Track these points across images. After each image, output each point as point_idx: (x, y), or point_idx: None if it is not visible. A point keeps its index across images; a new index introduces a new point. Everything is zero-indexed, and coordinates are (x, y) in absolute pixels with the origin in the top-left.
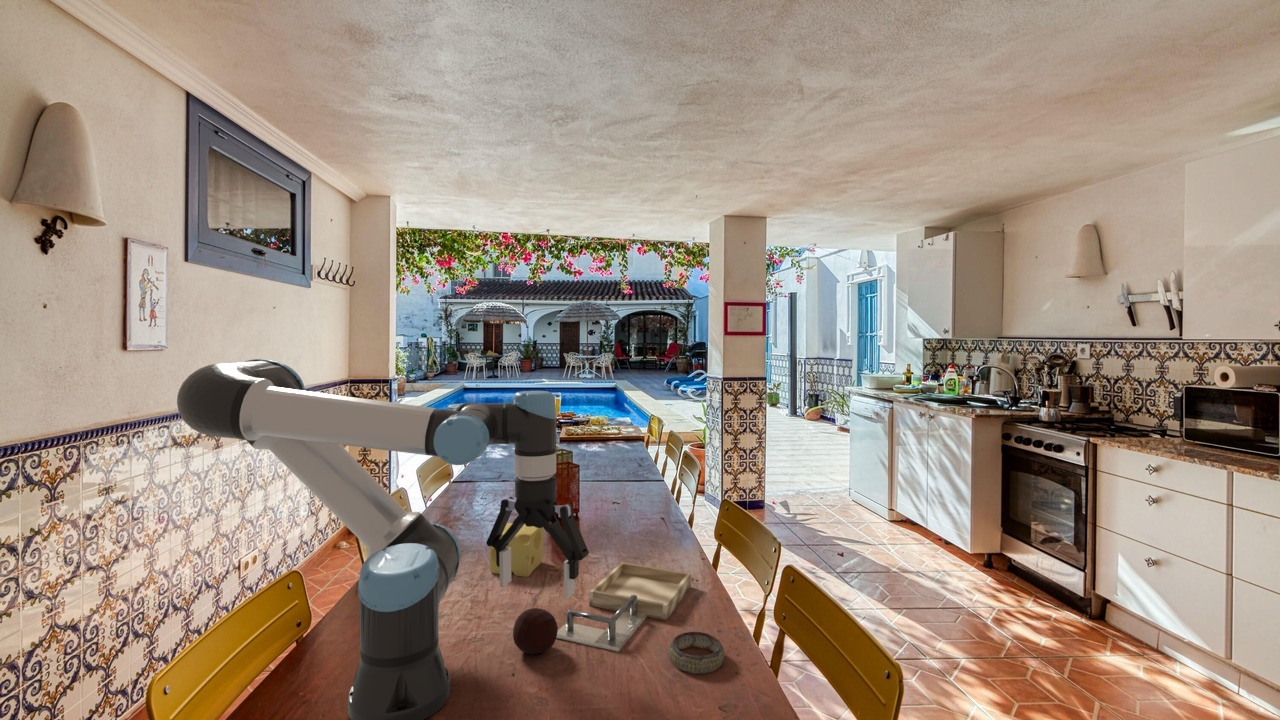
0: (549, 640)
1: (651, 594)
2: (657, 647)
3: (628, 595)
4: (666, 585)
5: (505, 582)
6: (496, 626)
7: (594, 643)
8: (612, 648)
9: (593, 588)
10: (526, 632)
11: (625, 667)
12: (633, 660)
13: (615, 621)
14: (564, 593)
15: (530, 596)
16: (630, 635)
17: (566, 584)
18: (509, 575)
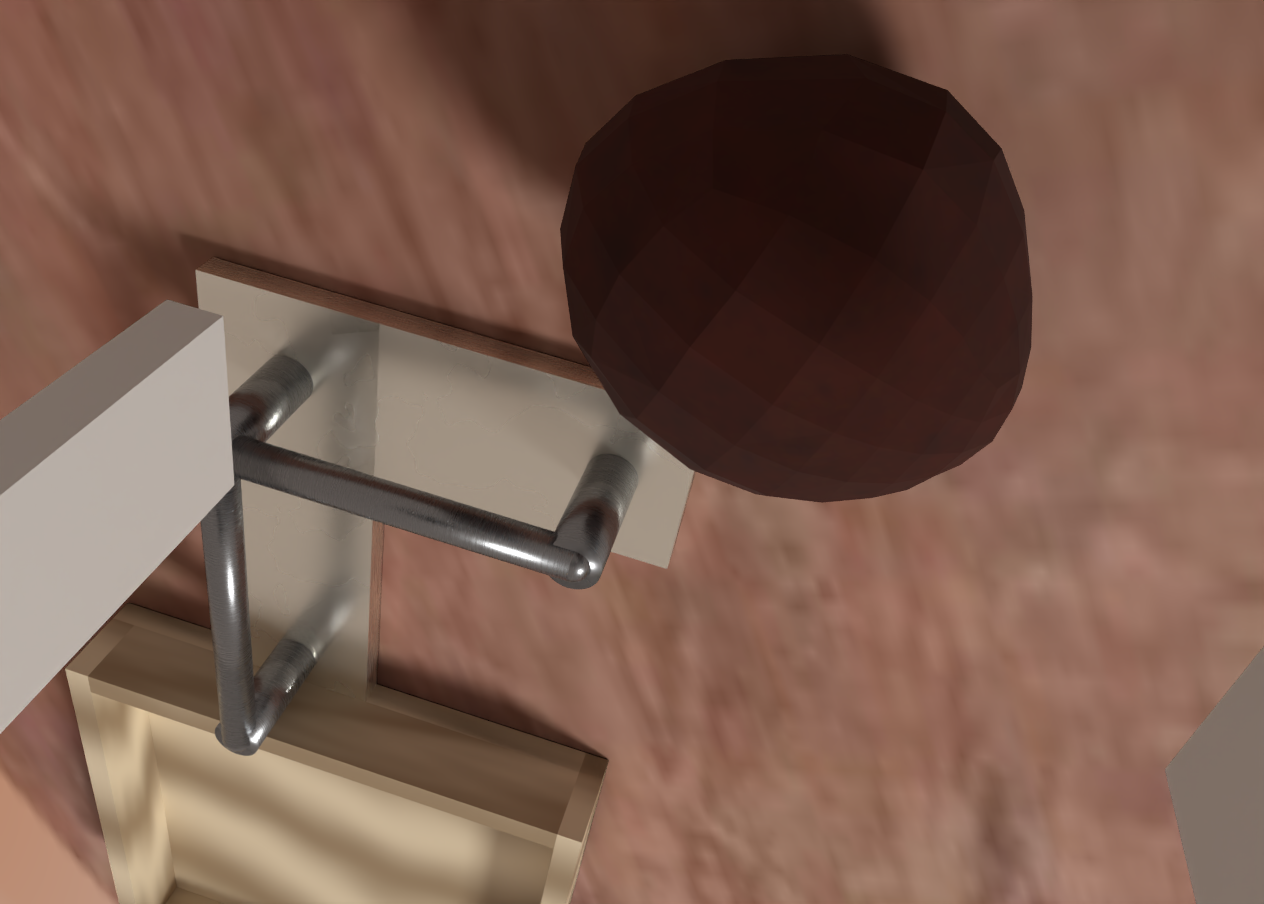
0: (606, 131)
1: (293, 822)
2: (31, 333)
3: (404, 823)
4: (261, 888)
5: (1257, 700)
6: (1256, 539)
7: (382, 320)
8: (248, 275)
9: (568, 867)
10: (826, 110)
11: (83, 65)
12: (81, 164)
13: None
14: (175, 346)
15: (1042, 881)
16: None
17: (43, 414)
18: (1212, 832)
